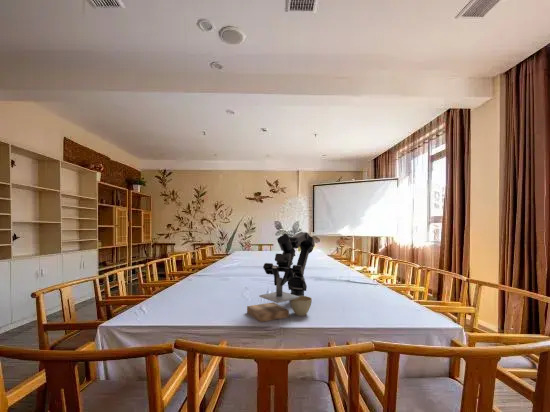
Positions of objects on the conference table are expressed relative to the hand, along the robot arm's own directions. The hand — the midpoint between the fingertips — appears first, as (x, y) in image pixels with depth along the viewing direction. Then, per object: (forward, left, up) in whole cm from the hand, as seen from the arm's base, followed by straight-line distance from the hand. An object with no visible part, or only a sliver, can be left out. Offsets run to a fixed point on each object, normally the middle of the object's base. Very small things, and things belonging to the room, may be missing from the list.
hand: (278, 285), depth 129 cm
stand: (+3, -4, -14) cm, 14 cm away
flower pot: (-11, +2, -14) cm, 18 cm away
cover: (-1, -1, -6) cm, 6 cm away
